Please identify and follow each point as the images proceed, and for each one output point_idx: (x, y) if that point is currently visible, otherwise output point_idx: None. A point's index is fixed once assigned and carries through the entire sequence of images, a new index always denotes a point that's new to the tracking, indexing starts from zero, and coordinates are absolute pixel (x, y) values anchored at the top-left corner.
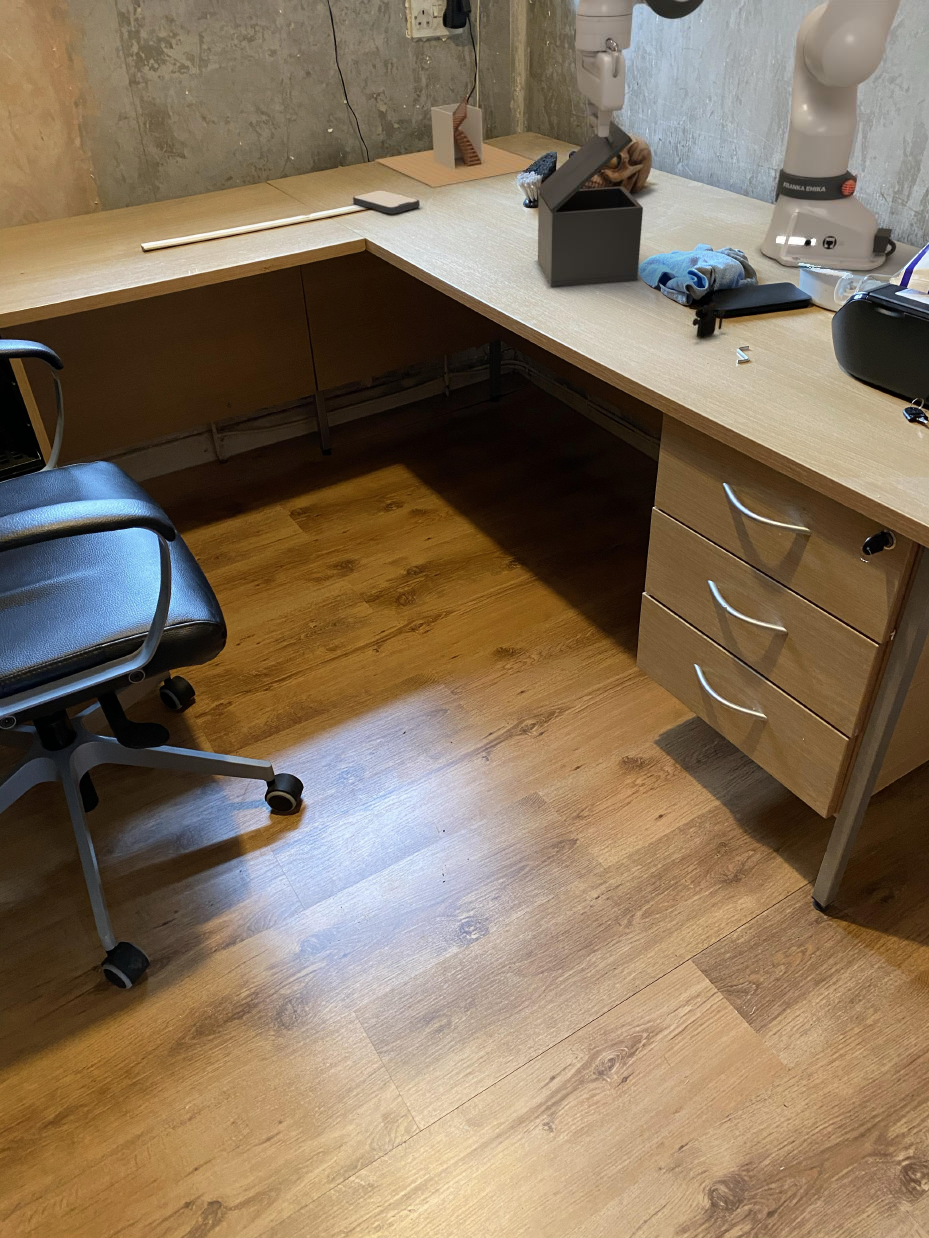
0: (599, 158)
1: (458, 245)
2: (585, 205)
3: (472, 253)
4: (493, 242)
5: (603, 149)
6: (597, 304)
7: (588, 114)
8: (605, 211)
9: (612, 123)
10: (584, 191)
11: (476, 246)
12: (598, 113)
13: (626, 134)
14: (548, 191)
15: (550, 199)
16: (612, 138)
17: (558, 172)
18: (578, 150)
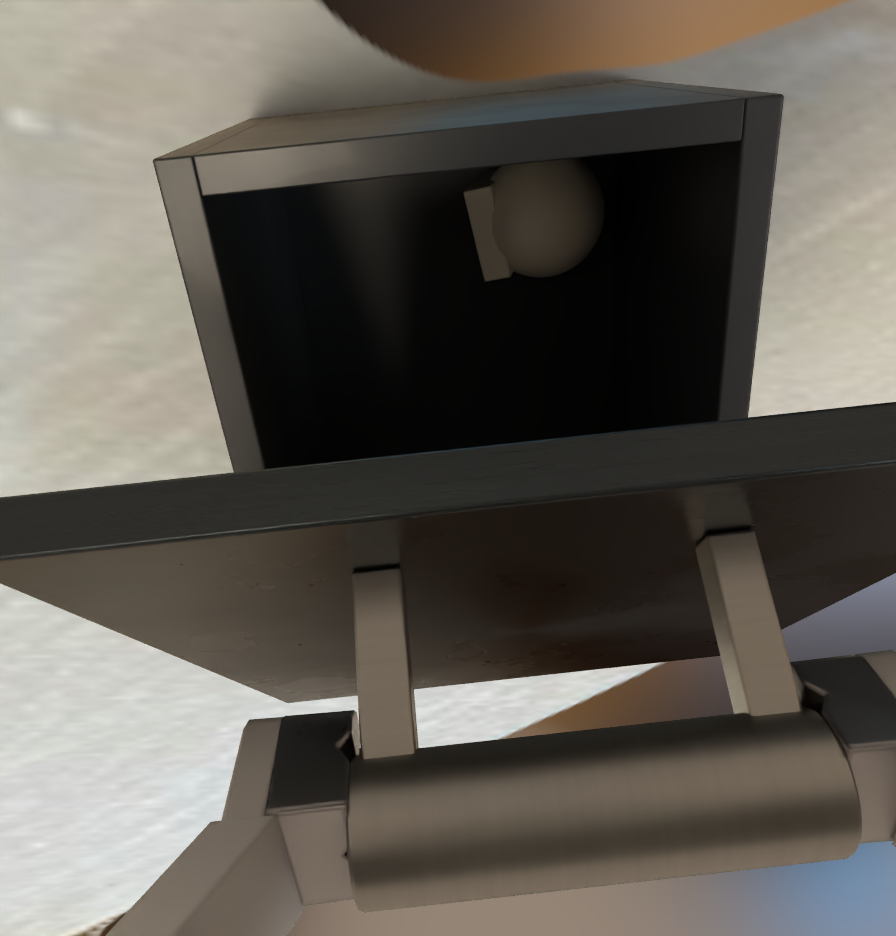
0: (783, 578)
1: (116, 730)
2: (271, 401)
3: (209, 689)
4: (69, 631)
5: (692, 570)
6: (857, 302)
7: (291, 920)
8: (752, 364)
9: (169, 550)
10: (262, 446)
11: (125, 680)
12: (258, 834)
13: None
14: (472, 677)
15: (604, 665)
16: (761, 559)
17: (317, 680)
18: (199, 658)
